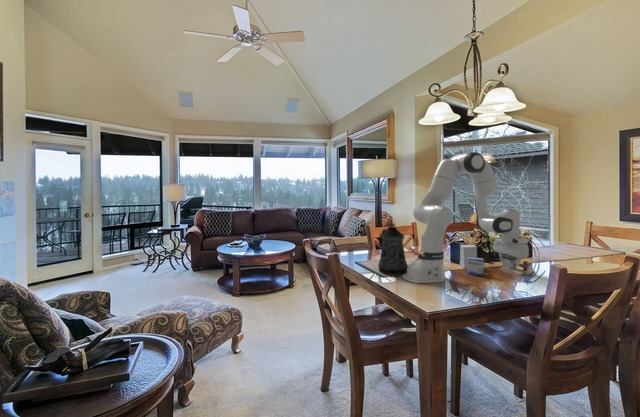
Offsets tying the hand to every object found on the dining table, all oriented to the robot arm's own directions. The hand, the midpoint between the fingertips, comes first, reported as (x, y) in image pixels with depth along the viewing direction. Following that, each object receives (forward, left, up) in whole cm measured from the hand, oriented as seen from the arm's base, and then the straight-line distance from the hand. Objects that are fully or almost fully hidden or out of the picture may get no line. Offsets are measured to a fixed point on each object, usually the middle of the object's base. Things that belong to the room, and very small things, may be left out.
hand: (509, 262), depth 183 cm
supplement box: (-15, +15, -5) cm, 22 cm away
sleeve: (0, 0, -3) cm, 3 cm away
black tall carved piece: (-61, +24, -5) cm, 66 cm away
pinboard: (+2, -3, -5) cm, 6 cm away
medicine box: (-22, +2, -5) cm, 23 cm away
